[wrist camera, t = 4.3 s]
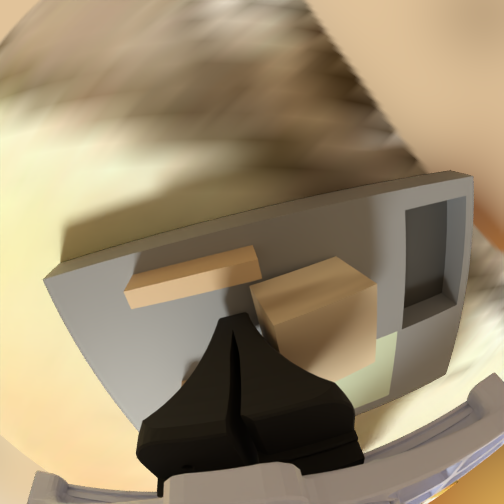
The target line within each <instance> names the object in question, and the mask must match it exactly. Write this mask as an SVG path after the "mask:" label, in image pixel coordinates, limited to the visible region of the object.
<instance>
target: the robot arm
mask: <svg viewBox="0 0 504 504" xmlns="http://www.w3.org/2000/svg"><path fill="white" fill-rule="evenodd" d="M354 423H355V410H354V407H353V405H352V403H351V402H350V400H349V399H348V397H347V396H346V394H345V393H344V392H343V391H342V390H341V389H340V387H339V386H338V385H337V384H336V383H335V382H332V381H329V380H326V379H324V378H321V377H318V376H316V375H314V374H312V373H310V372H308V371H306V370H304V369H303V368H301V367H299V366H297V365H296V364H294V363H292V362H291V361H290V360H288V359H287V358H285V357H284V356H283V355H282V354H280V353H279V352H278V351H277V350H276V349H275V348H273V347H272V346H271V345H270V344H269V343H268V342H267V341H266V339H265V338H264V337H263V336H262V335H261V334H260V332H259V331H258V330H257V329H256V327H255V326H254V324H253V323H252V321H251V319H250V317H249V314H248V313H246V312H243V313H239V314H235V315H231V316H227V317H222V318H220V319H219V320H218V322H217V325H216V328H215V331H214V333H213V336H212V338H211V340H210V342H209V345H208V347H207V349H206V351H205V353H204V355H203V356H202V358H201V360H200V362H199V364H198V365H197V367H196V368H195V370H194V371H193V373H192V374H191V376H190V377H189V378H188V380H187V381H186V382H185V383H184V384H183V386H182V387H181V388H180V389H179V390H178V391H177V392H176V393H175V394H174V395H173V396H172V397H171V398H170V399H169V400H168V401H167V402H166V403H165V404H164V405H163V406H161V407H160V408H159V409H158V410H156V411H155V412H154V413H152V414H151V415H150V416H148V417H147V418H146V419H144V420H143V421H142V424H141V427H140V431H139V436H138V442H137V449H136V455H137V458H138V459H139V461H140V462H141V463H142V464H143V465H144V466H145V467H146V468H147V469H148V470H150V471H151V472H152V473H153V474H154V475H155V476H156V477H157V478H158V484H157V492H137V491H120V490H109V489H100V488H92V487H85V486H78V485H72V484H68V483H67V482H66V481H65V480H64V479H63V478H61V477H59V476H58V475H55V474H52V473H48V472H43V471H36V474H35V477H34V480H33V484H32V487H31V491H30V494H29V498H28V502H27V504H420V503H422V502H424V501H425V500H427V499H429V498H430V497H432V496H434V495H435V494H437V493H438V492H440V491H441V490H443V489H445V488H446V487H448V486H449V485H451V484H452V483H453V482H455V481H456V480H458V479H459V478H461V477H462V476H463V475H465V474H466V473H467V472H469V471H470V470H471V469H473V468H474V467H476V466H477V465H478V464H480V463H481V462H482V461H483V460H485V459H486V458H487V457H489V456H490V455H491V454H492V453H494V452H495V451H496V450H497V449H498V448H500V447H501V446H502V445H503V444H504V382H503V381H502V380H501V379H500V377H499V376H498V375H497V374H496V373H492V374H491V375H490V376H488V377H487V378H485V379H484V380H483V381H481V382H480V383H478V384H477V385H476V386H475V387H474V388H473V389H472V390H471V391H470V393H469V395H468V398H467V401H466V402H464V403H463V404H461V405H459V406H458V407H456V408H455V409H453V410H451V411H450V412H448V413H446V414H445V415H443V416H441V417H440V418H438V419H436V420H434V421H432V422H431V423H429V424H427V425H425V426H423V427H421V428H419V429H417V430H415V431H413V432H411V433H409V434H407V435H405V436H403V437H401V438H399V439H397V440H395V441H392V442H390V443H388V444H386V445H383V446H381V447H379V448H376V449H374V450H371V451H369V452H366V453H364V454H363V452H362V450H361V448H360V445H359V443H358V441H357V440H358V436H357V434H356V432H355V430H354Z"/></svg>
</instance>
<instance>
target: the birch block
mask: <svg viewBox="0 0 504 504" xmlns="http://www.w3.org/2000/svg"><path fill="white" fill-rule="evenodd" d="M249 287H250V290H251V294H252V298H253V302H254V306H255V310H256V314H257V317H258V321H259V325H260V329H261V333H262V336H263V337H264V338H265V339H266V341H267V342H268V343H269V344H270V345H271V346H272V347H273V348H275V349H276V350H277V351H278V352H279V353H280V354H282V355H283V356H284V357H285V358H287V359H288V360H290V361H291V362H292V363H294V364H296V365H297V366H299V367H301V368H303V369H304V370H306V371H308V372H310V373H312V374H314V375H316V376H318V377H321V378H324V379H326V380H329V381H332V382H336V381H338V380H340V379H342V378H344V377H346V376H348V375H350V374H352V373H354V372H356V371H358V370H360V369H362V368H364V367H366V366H368V365H370V364H372V363H374V362H375V355H376V335H377V283H375V282H374V281H372V280H371V279H369V278H368V277H366V276H365V275H363V274H362V273H360V272H359V271H358V270H356V269H355V268H353V267H352V266H350V265H349V264H347V263H346V262H344V261H343V260H341V259H340V258H338V257H337V256H335V257H332V258H330V259H327V260H324V261H321V262H318V263H315V264H313V265H310V266H307V267H304V268H301V269H298V270H295V271H292V272H290V273H287V274H284V275H281V276H278V277H275V278H272V279H269V280H266V281H263V282H260V283H257V284H254V285H251V286H249Z"/></svg>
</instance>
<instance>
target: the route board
mask: <svg viewBox="0 0 504 504" xmlns="http://www.w3.org/2000/svg"><path fill="white" fill-rule="evenodd" d="M473 183H474V181H473V176H471V175H467V174H463V173H459V172H455V171H451V170H450V171H443V172H438V173H431V174H425V175H419V176H414V177H408V178H402V179H397V180H391V181H386V182H381V183H375V184H370V185H365V186H360V187H355V188H350V189H345V190H340V191H335V192H330V193H326V194H321V195H316V196H312V197H307V198H302V199H298V200H293V201H289V202H284V203H280V204H276V205H271V206H267V207H263V208H259V209H254V210H250V211H246V212H242V213H238V214H234V215H230V216H226V217H222V218H218V219H214V220H210V221H206V222H202V223H198V224H194V225H190V226H187V227H183V228H179V229H175V230H171V231H168V232H164V233H160V234H157V235H153V236H150V237H146V238H142V239H139V240H135V241H132V242H128V243H125V244H121V245H118V246H115V247H111V248H108V249H104V250H101V251H98V252H94V253H91V254H88V255H85V256H81V257H78V258H75V259H72V260H68V261H65V262H62V263H60V264H58V265H57V266H56V267H55V268H54V269H53V270H52V271H51V272H50V273H49V274H48V275H47V276H46V277H45V278H44V279H43V282H44V284H45V286H46V288H47V290H48V292H49V294H50V296H51V299H52V301H53V303H54V305H55V307H56V309H57V310H58V312H59V314H60V316H61V318H62V320H63V322H64V324H65V326H66V327H67V329H68V331H69V333H70V334H71V336H72V338H73V340H74V341H75V343H76V345H77V346H78V348H79V350H80V351H81V353H82V355H83V356H84V358H85V359H86V361H87V363H88V364H89V366H90V367H91V369H92V370H93V372H94V373H95V375H96V376H97V378H98V379H99V381H100V382H101V384H102V385H103V386H104V388H105V389H106V391H107V392H108V393H109V395H110V396H111V397H112V399H113V400H114V402H115V403H116V404H117V405H118V407H119V408H120V409H121V411H122V412H123V413H124V414H125V416H126V417H127V418H128V419H129V421H130V422H131V423H132V424H133V426H134V427H135V428H136V429H137V430H138V432H139V431H140V427H141V424H142V421H143V420H144V419H146V418H147V417H148V416H150V415H151V414H152V413H154V412H155V411H156V410H158V409H159V408H160V407H161V406H163V405H164V404H165V403H166V402H167V401H168V400H169V399H170V398H171V397H172V396H173V395H174V394H175V393H176V392H177V391H178V390H179V389H180V388H181V387H182V386H183V384H184V383H185V382H186V381H187V380H188V378H189V377H190V376H191V374H192V373H193V371H194V370H195V368H196V367H197V365H198V364H199V362H200V360H201V358H202V356H203V355H204V353H205V351H206V349H207V347H208V345H209V342H210V340H211V338H212V336H213V333H214V331H215V328H216V325H217V322H218V320H219V319H220V318H222V317H227V316H231V315H235V314H239V313H243V312H246V313H248V314H249V317H250V319H251V321H252V323H253V324H254V326H255V327H256V329H257V330H258V331H259V332H260V334H261V335H262V333H261V329H260V325H259V321H258V317H257V314H256V310H255V306H254V302H253V298H252V294H251V290H250V287H249V286H251V285H254V284H257V283H260V282H263V281H266V280H269V279H272V278H275V277H278V276H281V275H284V274H287V273H290V272H292V271H295V270H298V269H301V268H304V267H307V266H310V265H313V264H315V263H318V262H321V261H324V260H327V259H330V258H332V257H335V256H337V257H338V258H340V259H341V260H343V261H344V262H346V263H347V264H349V265H350V266H352V267H353V268H355V269H356V270H358V271H359V272H360V273H362V274H363V275H365V276H366V277H368V278H369V279H371V280H372V281H374V282H375V283H377V335H376V355H375V362H374V363H372V364H370V365H368V366H366V367H364V368H362V369H360V370H358V371H356V372H354V373H352V374H350V375H348V376H346V377H344V378H342V379H340V380H338V381H336V382H335V383H336V384H337V385H338V386H339V387H340V389H341V390H342V391H343V392H344V393H345V394H346V396H347V397H348V399H349V400H350V402H351V403H352V405H353V407H354V410H355V416H356V415H358V414H361V413H364V412H366V411H369V410H371V409H374V408H376V407H379V406H381V405H384V404H386V403H388V402H391V401H393V400H395V399H397V398H400V397H402V396H404V395H406V394H408V393H410V392H413V391H415V390H417V389H419V388H421V387H423V386H425V385H427V384H429V383H431V382H432V381H434V380H436V379H438V378H440V377H442V376H444V375H445V374H446V372H447V369H448V366H449V362H450V359H451V355H452V352H453V348H454V344H455V340H456V336H457V332H458V328H459V323H460V319H461V314H462V309H463V304H464V298H465V293H466V286H467V280H468V273H469V265H470V256H471V245H472V232H473V209H474V208H473V207H474V206H473V205H474V184H473Z"/></svg>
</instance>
